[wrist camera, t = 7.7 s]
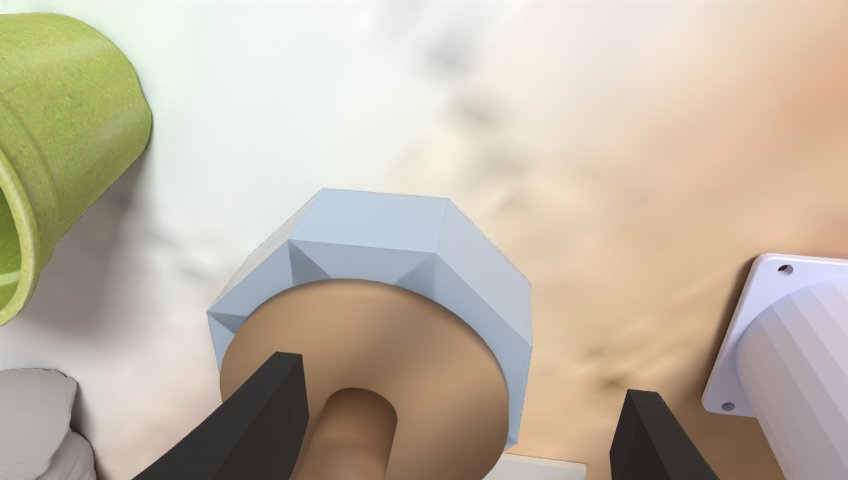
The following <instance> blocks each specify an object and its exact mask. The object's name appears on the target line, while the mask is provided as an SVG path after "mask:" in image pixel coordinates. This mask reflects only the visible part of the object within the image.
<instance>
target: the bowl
mask: <svg viewBox="0 0 848 480" xmlns="http://www.w3.org/2000/svg"><path fill="white" fill-rule="evenodd" d="M336 278H345V279H364V280H371V281H379V282H383V283H387V284H391V285H395V286H399V287H402V288H405V289H408V290H411V291H413V292H416V293H419V294H421V295H423V296H425V297H427V298H429V299H431V300H433V301H436V302H438V303H439V304H441V305H442V306H444V307H446V308H447V309H449V310H450V311H452V312H454V313H455V314H456V315H458V316H459V317H460V318H461V319H463V320H464V321H465V322H466V323H468V324H469V325H470V326H471V327H472V328H473V329H474V330H475V331H476V332H477V333H478V334H479V335H480V336H481V337H482V338H483V339H484V341H485V342H486V343H487V345H488V346H489V347H490V349H491V350H492V351H493V353H494V354H495V356H496V358H497V360H498V362H499V364H500V365H501V367H502V370H503V373H504V376H505V379H506V382H507V387H508V393H509V432H508V437H507V441H506V445H505V448H504V450H506V449H508V448H510V447H512V446H514V445H516V444H517V441H518V435H519V428H520V422H521V416H522V409H523V403H524V397H525V390H526V384H527V378H528V372H529V365H530V359H531V353H532V348H533V346H532V321H531V296H530V282H529V281H528V280H527V279H526V278H525V277H524V276H523V275H522V274H521V273H520V272H519V271H518V270H517V269H516V268H515V267H514V266H513V265H512V264H511V263H510V262H509V261H508V260H507V259H506V258H505V257H504V256H503V255H502V254H501V253H500V252H499V250H498V249H497V248H496V247H495V246H494V245H493V244H492V243H491V242H490V241H489V240H488V239H487V238H486V237H485V236H484V235H483V234H482V233H481V232H480V231H479V230H478V229H477V228H476V227H475V226H474V225H473V224H472V223H471V222H470V221H469V220H468V218H467V217H466V216H465V215H464V214H463V213H462V212H461V211H460V210H459V209H458V208H457V207H456V206H455V205H454V204H453V203H452V202H451V201H450V200H449V199H446V198H434V197H422V196H409V195H397V194H385V193H373V192H361V191H349V190H337V189H324V188H322V190H321V191H319V192H318V193H317V194H316V195H315V196H314V197H313V198H312V199H311V200H310V201H309V202H307V203H306V204H305V205H304V206H303V207H302V208H301V209H300V210H299V211H298V212H297V213H295V214H294V215H293V216H292V217H291V218H290V219H289V220H288V221H287V222H286V223H285V224H283V225H282V226H281V227H280V228H279V229H278V230H277V231H276V232H275V233H274V234H273V235H271V236H270V237H269V238H268V239H267V240H266V241H265V242H264V243H263V244H262V245H261V246H259V247H258V248H257V249H256V250H255V251H254V252H253V253H252V254H251V255H249V257H248V258H247V259H246V261H245V262H244V263H243V264H242V266H241V267H240V268H239V270H238V271H237V272H236V274H235V275H234V276H233V277H232V279H231V280H230V281H229V283H228V284H227V285H226V287H225V288H224V289H223V290H222V292H221V293H220V294H219V296H218V297H217V298H216V300H215V301H214V302H213V304H212V305H211V306H210V307H209V309H208V310H207V311H206V313H207V317H208V322H209V326H210V331H211V336H212V340H213V345H214V349H215V354H216V359H217V363H218V368H219V372H220V370H221V365H222V360H223V357H224V355H225V352H226V350H227V347H228V346H229V344H230V343H231V341H232V340H233V338H234V337H235V335H236V333H237V332H238V330H239V329H240V327H241V326H242V324H243V323H244V321H245V320H246V318H247V317H248V316H249V315H250V314H251V313H252V312H253V311H254V310H255V309H256V308H257V307H258V306H259V305H260V304H262V303H263V302H264V301H266V300H267V299H268V298H270V297H272V296H274V295H276V294H277V293H279V292H281V291H283V290H285V289H288V288H291V287H294V286H296V285H299V284H303V283H308V282H312V281H317V280H326V279H336Z"/></svg>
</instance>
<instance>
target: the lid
mask: <svg viewBox="0 0 848 480" xmlns="http://www.w3.org/2000/svg"><path fill="white" fill-rule="evenodd" d="M276 351H278V352H287V353H296V354H302V357H303V366H304V375H305V383H306V392H307V400H308V409H309V421H308V424H307V428H306V432H305V435H304V439H303V442H302V446H301V449H300V452H299V456H298V459H297V462H296V464H295V467H294V469H293V471H292V474H291V476H290V479H289V480H482V479H483V478H484V477H485V476H486V475H487V474H488V473H489V472H490V471H491V470H492V469H493V468H494V466H495V465H496V463H497V462H498V460H499V459H500V457H501V455H502V453H503V450H504V448H505V445H506V441H507V437H508V432H509V393H508V387H507V382H506V379H505V376H504V373H503V370H502V367H501V365H500V364H499V362H498V360H497V358H496V356H495V354H494V353H493V351H492V350H491V349H490V347H489V346H488V345H487V343H486V342H485V341H484V339H483V338H482V337H481V336H480V335H479V334H478V333H477V332H476V331H475V330H474V329H473V328H472V327H471V326H470V325H469V324H468V323H466V322H465V321H464V320H463V319H461V318H460V317H459V316H458V315H456V314H455V313H454V312H452V311H450V310H449V309H447V308H446V307H444V306H442V305H441V304H439V303H438V302H436V301H433V300H431V299H429V298H427V297H425V296H423V295H421V294H419V293H416V292H413V291H411V290H408V289H405V288H402V287H399V286H395V285H391V284H387V283H383V282H379V281H371V280H364V279H345V278H336V279H326V280H317V281H312V282H308V283H303V284H299V285H296V286H294V287H291V288H288V289H285V290H283V291H281V292H279V293H277V294H276V295H274V296H272V297H270V298H268V299H267V300H266V301H264V302H263V303H262V304H260V305H259V306H258V307H257V308H256V309H255V310H254V311H253V312H252V313H251V314H250V315H249V316H248V317H247V318H246V320H245V321H244V323H243V324H242V326H241V327H240V329H239V330H238V332H237V333H236V335H235V337H234V338H233V340H232V341H231V343H230V344H229V346H228V347H227V350H226V352H225V355H224V357H223V360H222V365H221V370H220V391H221V396H222V401H223V402H225V401H226V400H227V399H228V398H229V397H230V396H231V395H232V394H233V393H234V392H235V391H236V390H237V389H238V388H239V387H240V386H241V385H242V384H243V383H244V382H245V381H246V380H247V379H248V378H249V377H250V376H251V375H252V374H253V373H254V372H255V371H256V370H257V369H258V368H259V367H260V366H261V365H262V364H263V363H264V362H265V361H266V360H267V359H268V358H269V357H270V356H271V355H272V354H274V353H275V352H276Z"/></svg>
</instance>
